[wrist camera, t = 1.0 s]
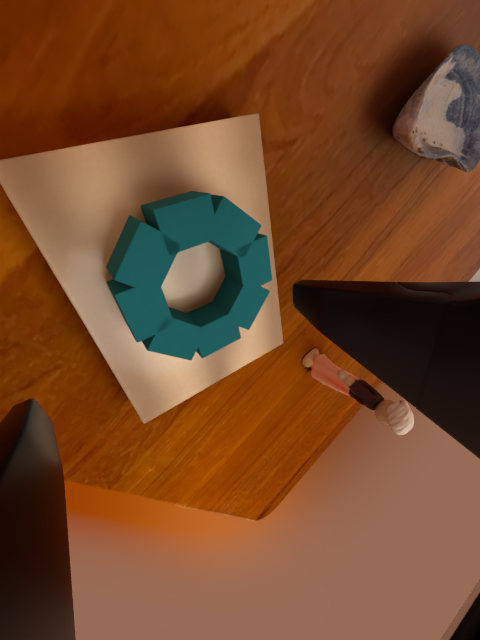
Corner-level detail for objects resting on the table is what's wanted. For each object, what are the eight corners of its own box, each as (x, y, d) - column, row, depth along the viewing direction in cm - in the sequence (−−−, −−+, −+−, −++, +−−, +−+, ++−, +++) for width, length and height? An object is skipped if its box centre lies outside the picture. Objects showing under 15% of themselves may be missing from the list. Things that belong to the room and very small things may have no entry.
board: (134, 400, 24) (143, 424, 21) (-4, 163, 14) (-13, 162, 11) (264, 330, 29) (283, 343, 27) (233, 119, 19) (259, 112, 17)
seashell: (380, 230, 32) (424, 237, 29) (356, 120, 24) (412, 110, 20) (459, 142, 34) (511, 139, 30) (461, 10, 26) (533, -18, 22)
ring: (146, 363, 19) (156, 383, 18) (76, 222, 14) (81, 230, 12) (259, 307, 23) (277, 319, 21) (238, 177, 18) (260, 178, 16)
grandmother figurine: (291, 369, 34) (386, 445, 25) (306, 342, 34) (409, 409, 24) (323, 377, 39) (413, 443, 30) (337, 354, 39) (433, 413, 29)
